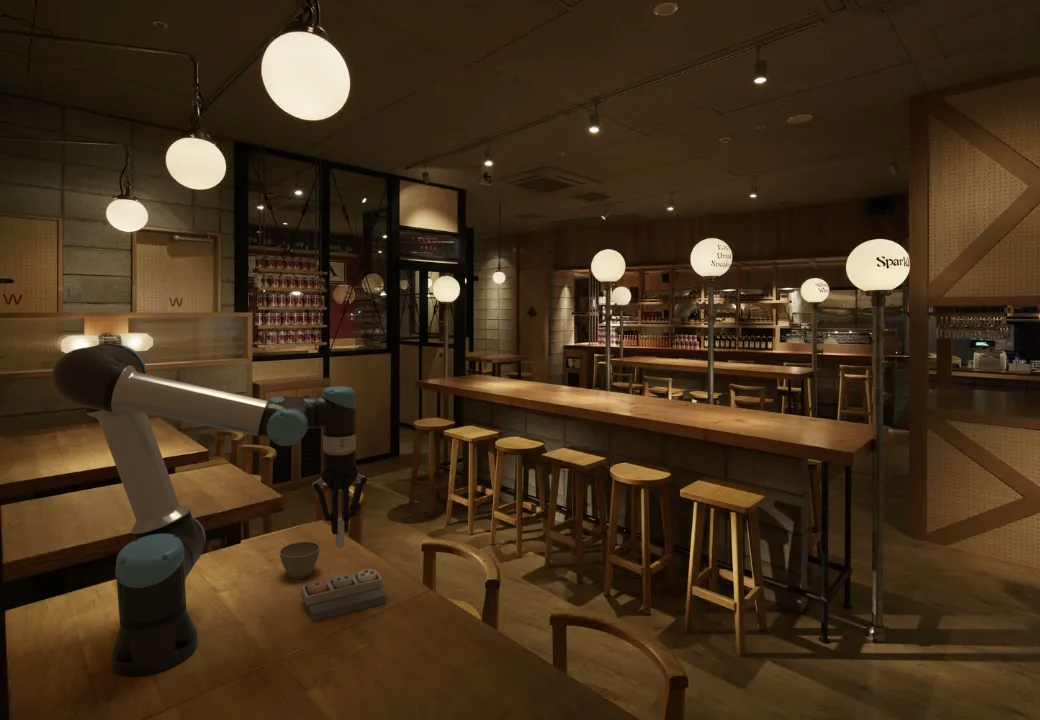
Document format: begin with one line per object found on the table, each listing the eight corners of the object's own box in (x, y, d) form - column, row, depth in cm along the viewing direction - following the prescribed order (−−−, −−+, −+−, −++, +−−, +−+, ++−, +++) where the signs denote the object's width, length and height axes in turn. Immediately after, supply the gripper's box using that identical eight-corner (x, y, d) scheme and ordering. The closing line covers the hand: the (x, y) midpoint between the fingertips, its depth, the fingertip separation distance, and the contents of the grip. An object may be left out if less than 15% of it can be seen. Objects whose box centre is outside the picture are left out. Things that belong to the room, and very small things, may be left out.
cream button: (360, 588, 142) (360, 577, 142) (356, 580, 146) (355, 570, 146) (378, 584, 145) (378, 573, 144) (373, 576, 148) (373, 566, 148)
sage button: (335, 594, 139) (335, 583, 139) (331, 586, 143) (331, 576, 143) (354, 589, 142) (353, 579, 141) (349, 582, 145) (349, 572, 145)
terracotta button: (309, 600, 136) (309, 589, 136) (306, 592, 140) (305, 581, 140) (328, 596, 139) (328, 585, 138) (325, 588, 142) (324, 577, 142)
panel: (310, 622, 132) (309, 606, 131) (299, 593, 145) (298, 578, 144) (388, 602, 141) (388, 586, 140) (371, 576, 154) (370, 562, 153)
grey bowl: (307, 585, 149) (306, 558, 148) (272, 581, 151) (271, 555, 150) (327, 568, 159) (326, 542, 158) (294, 564, 161) (293, 539, 160)
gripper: (314, 458, 132) (315, 556, 135) (370, 452, 139) (370, 546, 141) (308, 450, 139) (309, 544, 141) (362, 445, 145) (362, 535, 148)
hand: (339, 545), depth 141 cm, fingers closed
